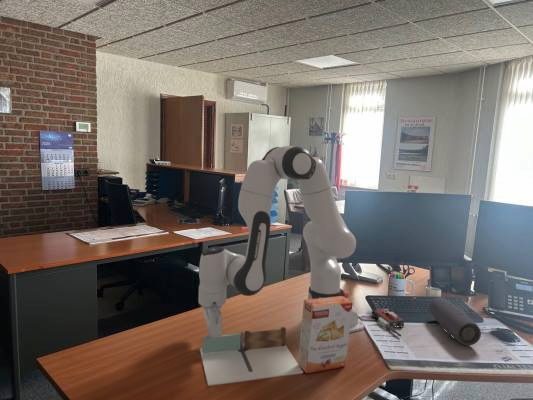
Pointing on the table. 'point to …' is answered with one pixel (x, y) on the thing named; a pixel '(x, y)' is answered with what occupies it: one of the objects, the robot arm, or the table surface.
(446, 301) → the bluetooth speaker
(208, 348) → the gate panel
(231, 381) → the card
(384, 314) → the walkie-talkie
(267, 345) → the fence
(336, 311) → the cracker box
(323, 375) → the table surface
